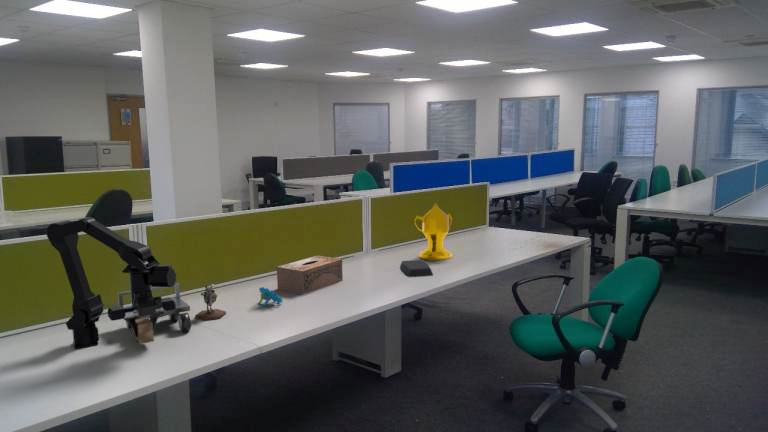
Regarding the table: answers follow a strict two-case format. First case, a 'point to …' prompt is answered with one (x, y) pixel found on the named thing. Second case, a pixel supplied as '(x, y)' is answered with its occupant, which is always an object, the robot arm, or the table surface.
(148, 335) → the block
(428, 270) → the external hard drive
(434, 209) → the trophy cup
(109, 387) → the table surface
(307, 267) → the tissue box cover
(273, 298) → the blue irregular piece
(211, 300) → the robot figurine
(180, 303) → the trolley
